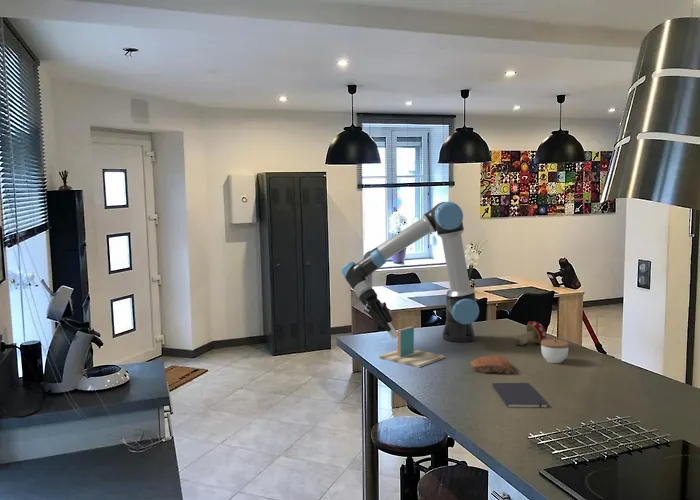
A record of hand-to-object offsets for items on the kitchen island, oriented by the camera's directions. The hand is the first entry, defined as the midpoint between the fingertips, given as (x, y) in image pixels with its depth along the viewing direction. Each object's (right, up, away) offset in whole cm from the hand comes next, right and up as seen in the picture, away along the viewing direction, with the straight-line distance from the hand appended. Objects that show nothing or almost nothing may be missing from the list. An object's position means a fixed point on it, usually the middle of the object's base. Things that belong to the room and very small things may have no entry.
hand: (395, 336), depth 247 cm
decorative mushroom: (+62, -6, +18) cm, 65 cm away
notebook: (+37, -13, -51) cm, 64 cm away
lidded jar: (+63, -9, -10) cm, 65 cm away
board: (+6, -8, -5) cm, 11 cm away
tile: (+4, -2, -3) cm, 5 cm away
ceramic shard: (+35, -10, -19) cm, 41 cm away
